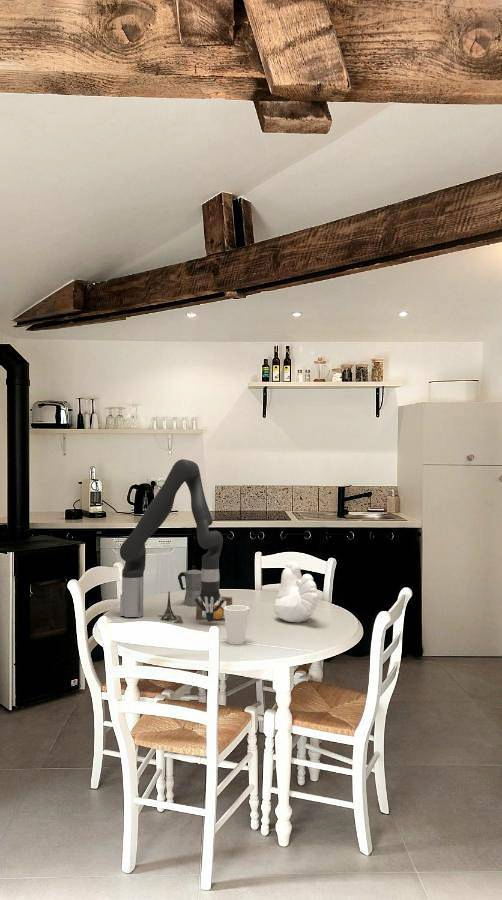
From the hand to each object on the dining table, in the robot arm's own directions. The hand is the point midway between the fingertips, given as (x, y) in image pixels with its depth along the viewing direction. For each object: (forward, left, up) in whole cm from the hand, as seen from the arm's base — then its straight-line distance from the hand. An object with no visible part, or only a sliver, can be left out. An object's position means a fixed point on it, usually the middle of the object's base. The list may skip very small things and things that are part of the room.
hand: (209, 621), depth 297 cm
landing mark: (0, +17, -2) cm, 17 cm away
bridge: (0, +9, -2) cm, 9 cm away
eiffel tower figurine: (-19, +6, -2) cm, 20 cm away
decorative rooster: (+35, +11, -2) cm, 37 cm away
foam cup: (+15, -24, -2) cm, 28 cm away
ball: (+1, +10, +2) cm, 10 cm away
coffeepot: (-16, +36, -2) cm, 39 cm away
